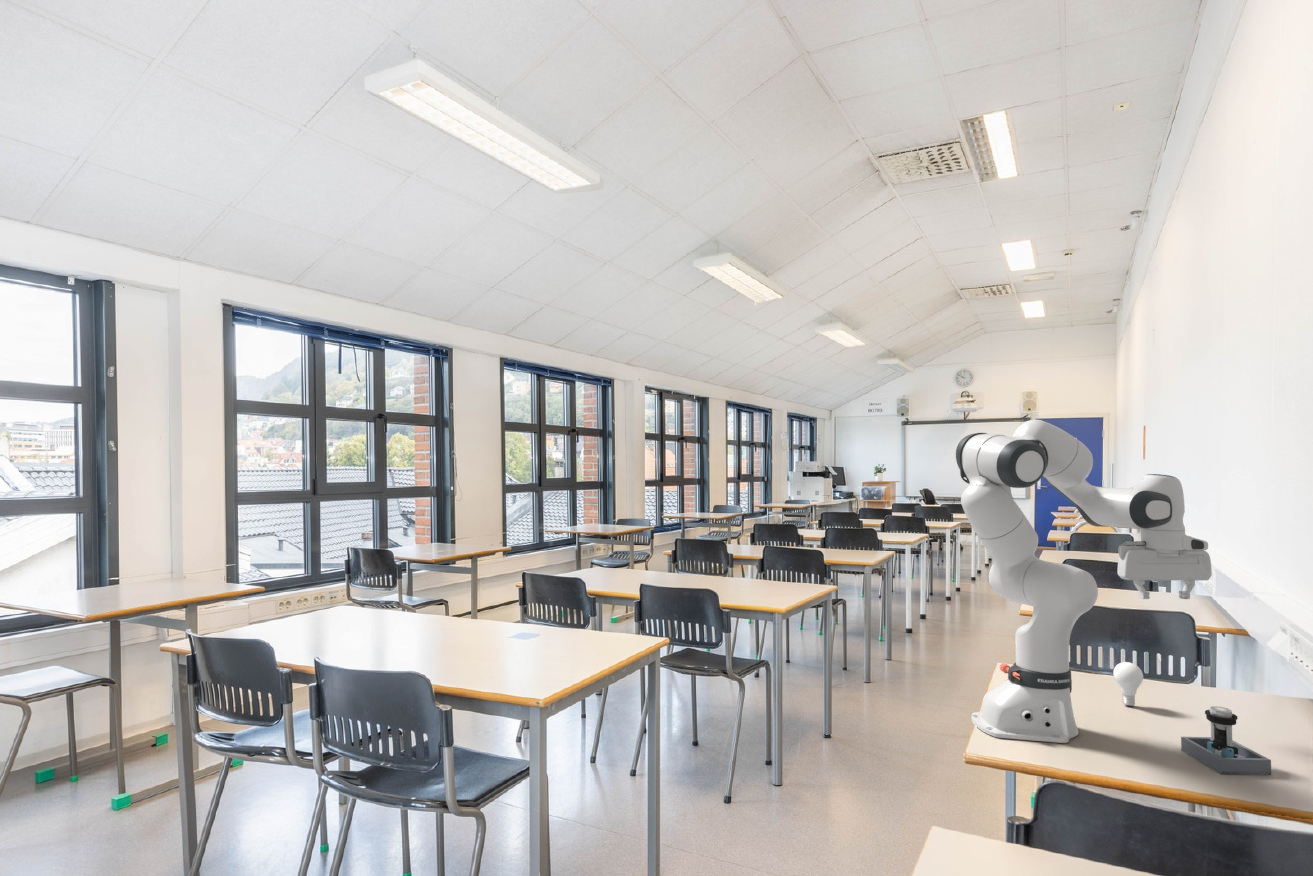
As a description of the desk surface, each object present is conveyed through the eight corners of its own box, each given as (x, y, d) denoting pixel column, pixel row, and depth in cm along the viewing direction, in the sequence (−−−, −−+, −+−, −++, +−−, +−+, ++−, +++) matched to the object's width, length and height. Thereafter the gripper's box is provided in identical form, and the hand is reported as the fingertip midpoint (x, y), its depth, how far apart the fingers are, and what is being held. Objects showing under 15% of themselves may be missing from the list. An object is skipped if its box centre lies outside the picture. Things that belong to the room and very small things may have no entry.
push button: (1251, 763, 146) (1250, 713, 146) (1236, 767, 144) (1235, 717, 144) (1215, 750, 152) (1214, 703, 152) (1200, 755, 150) (1199, 707, 150)
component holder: (1221, 774, 142) (1220, 759, 142) (1181, 750, 154) (1181, 736, 154) (1271, 775, 142) (1270, 760, 142) (1227, 751, 153) (1227, 737, 153)
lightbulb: (1129, 711, 178) (1128, 666, 178) (1108, 703, 184) (1107, 660, 184) (1150, 709, 179) (1149, 665, 180) (1128, 701, 185) (1127, 658, 186)
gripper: (1126, 542, 170) (1128, 601, 170) (1215, 542, 169) (1217, 601, 169) (1111, 539, 176) (1112, 596, 176) (1196, 539, 175) (1198, 596, 175)
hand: (1164, 598), depth 172 cm, fingers open, 8 cm apart
